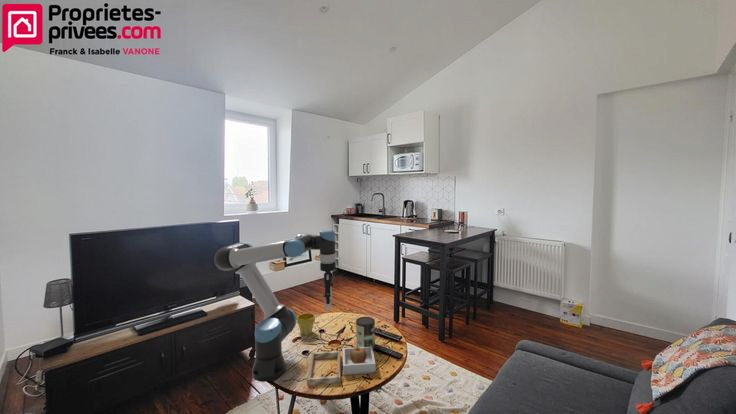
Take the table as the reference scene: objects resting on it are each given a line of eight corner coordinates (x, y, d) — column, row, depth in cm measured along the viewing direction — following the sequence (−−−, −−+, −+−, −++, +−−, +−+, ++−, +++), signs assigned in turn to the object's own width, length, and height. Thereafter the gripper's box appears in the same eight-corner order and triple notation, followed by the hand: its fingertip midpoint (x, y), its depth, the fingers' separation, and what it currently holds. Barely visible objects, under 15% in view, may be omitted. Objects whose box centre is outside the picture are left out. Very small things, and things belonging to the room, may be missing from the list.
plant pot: (306, 326, 185) (306, 311, 184) (318, 331, 179) (318, 315, 178) (293, 333, 176) (293, 317, 176) (305, 338, 170) (305, 321, 170)
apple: (347, 365, 142) (346, 349, 142) (354, 357, 149) (354, 341, 149) (362, 369, 139) (362, 353, 138) (369, 360, 146) (369, 345, 146)
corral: (307, 385, 130) (307, 379, 130) (311, 357, 151) (311, 352, 151) (340, 382, 131) (340, 377, 131) (340, 355, 152) (340, 350, 152)
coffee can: (376, 341, 166) (376, 317, 165) (373, 351, 156) (372, 325, 155) (358, 339, 168) (358, 315, 167) (354, 349, 158) (353, 323, 157)
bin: (343, 375, 136) (343, 365, 136) (342, 356, 151) (342, 348, 151) (375, 372, 138) (375, 363, 137) (372, 354, 153) (371, 346, 152)
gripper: (335, 268, 133) (336, 314, 134) (335, 255, 158) (336, 294, 159) (318, 269, 132) (319, 315, 134) (321, 256, 157) (322, 295, 158)
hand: (328, 304), depth 146 cm, fingers open, 13 cm apart
